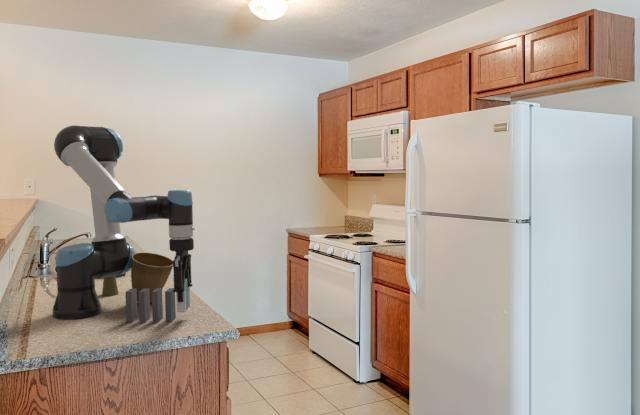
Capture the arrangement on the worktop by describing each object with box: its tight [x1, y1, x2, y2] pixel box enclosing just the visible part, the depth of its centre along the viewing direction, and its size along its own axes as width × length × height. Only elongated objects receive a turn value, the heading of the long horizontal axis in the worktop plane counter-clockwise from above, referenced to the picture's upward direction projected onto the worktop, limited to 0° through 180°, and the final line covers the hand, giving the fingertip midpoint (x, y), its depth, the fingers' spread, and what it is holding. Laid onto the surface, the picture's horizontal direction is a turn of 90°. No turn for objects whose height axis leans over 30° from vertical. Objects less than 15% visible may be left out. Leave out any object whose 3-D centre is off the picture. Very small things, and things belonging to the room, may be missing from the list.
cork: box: [101, 276, 119, 297], centre depth 207 cm, size 6×6×11 cm
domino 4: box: [164, 287, 177, 323], centre depth 170 cm, size 2×5×10 cm, turn 0°
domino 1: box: [124, 288, 138, 324], centre depth 171 cm, size 2×5×10 cm, turn 0°
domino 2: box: [138, 288, 151, 324], centre depth 171 cm, size 2×5×10 cm, turn 0°
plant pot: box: [130, 252, 173, 305], centre depth 192 cm, size 15×15×16 cm
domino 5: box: [184, 278, 189, 311], centre depth 170 cm, size 2×5×10 cm, turn 0°
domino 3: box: [151, 288, 164, 324], centre depth 170 cm, size 2×5×10 cm, turn 0°
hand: (183, 309), depth 170 cm, fingers closed on domino 5, 5 cm apart
